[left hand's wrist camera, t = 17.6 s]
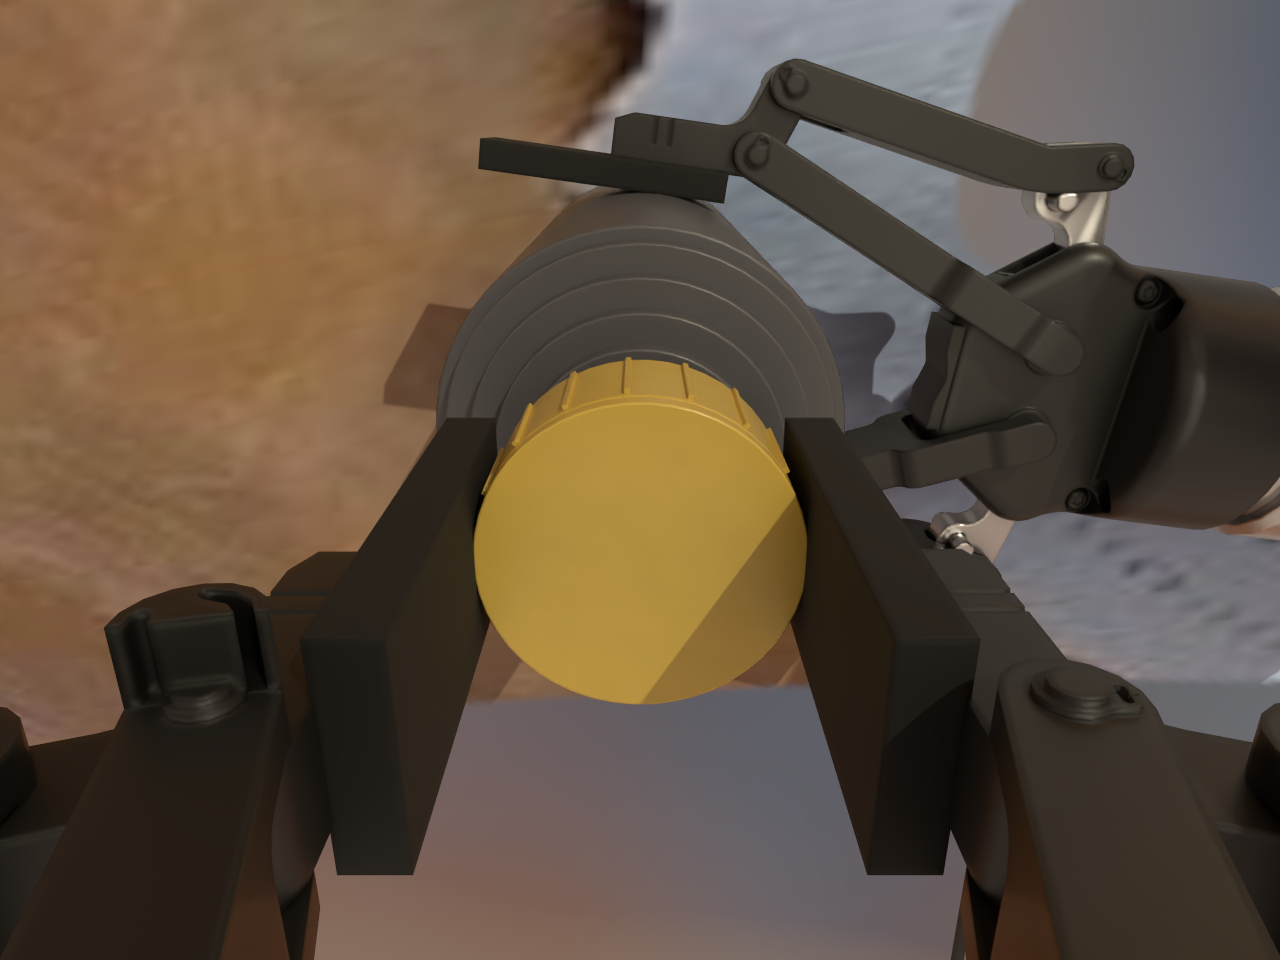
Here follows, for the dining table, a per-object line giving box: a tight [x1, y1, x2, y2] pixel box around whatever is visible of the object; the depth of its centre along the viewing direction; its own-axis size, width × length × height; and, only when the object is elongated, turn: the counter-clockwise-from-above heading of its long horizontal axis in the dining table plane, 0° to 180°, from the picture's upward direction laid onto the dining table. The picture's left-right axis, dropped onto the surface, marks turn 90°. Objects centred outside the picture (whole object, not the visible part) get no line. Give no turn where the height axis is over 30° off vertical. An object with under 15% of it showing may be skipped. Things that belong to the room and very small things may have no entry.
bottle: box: [436, 186, 845, 454], centre depth 23 cm, size 8×8×21 cm
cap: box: [473, 357, 807, 704], centre depth 13 cm, size 5×5×2 cm
